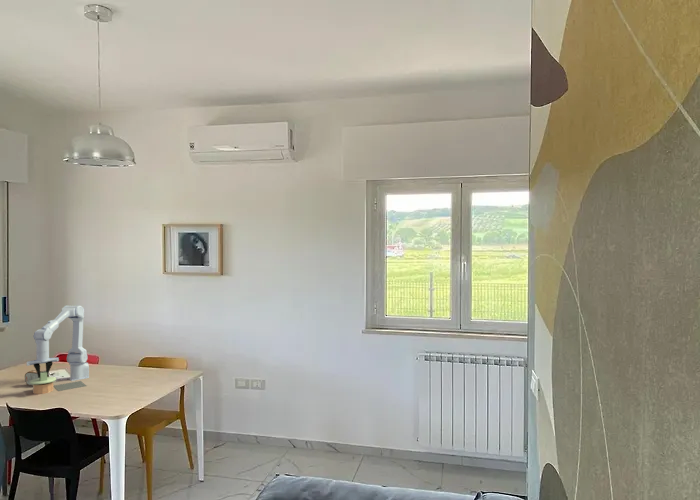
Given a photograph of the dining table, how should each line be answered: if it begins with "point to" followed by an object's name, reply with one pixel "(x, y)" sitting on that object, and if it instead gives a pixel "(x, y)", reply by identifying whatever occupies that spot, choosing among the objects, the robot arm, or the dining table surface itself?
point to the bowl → (42, 388)
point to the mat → (69, 386)
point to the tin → (31, 376)
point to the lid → (43, 379)
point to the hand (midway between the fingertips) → (43, 376)
